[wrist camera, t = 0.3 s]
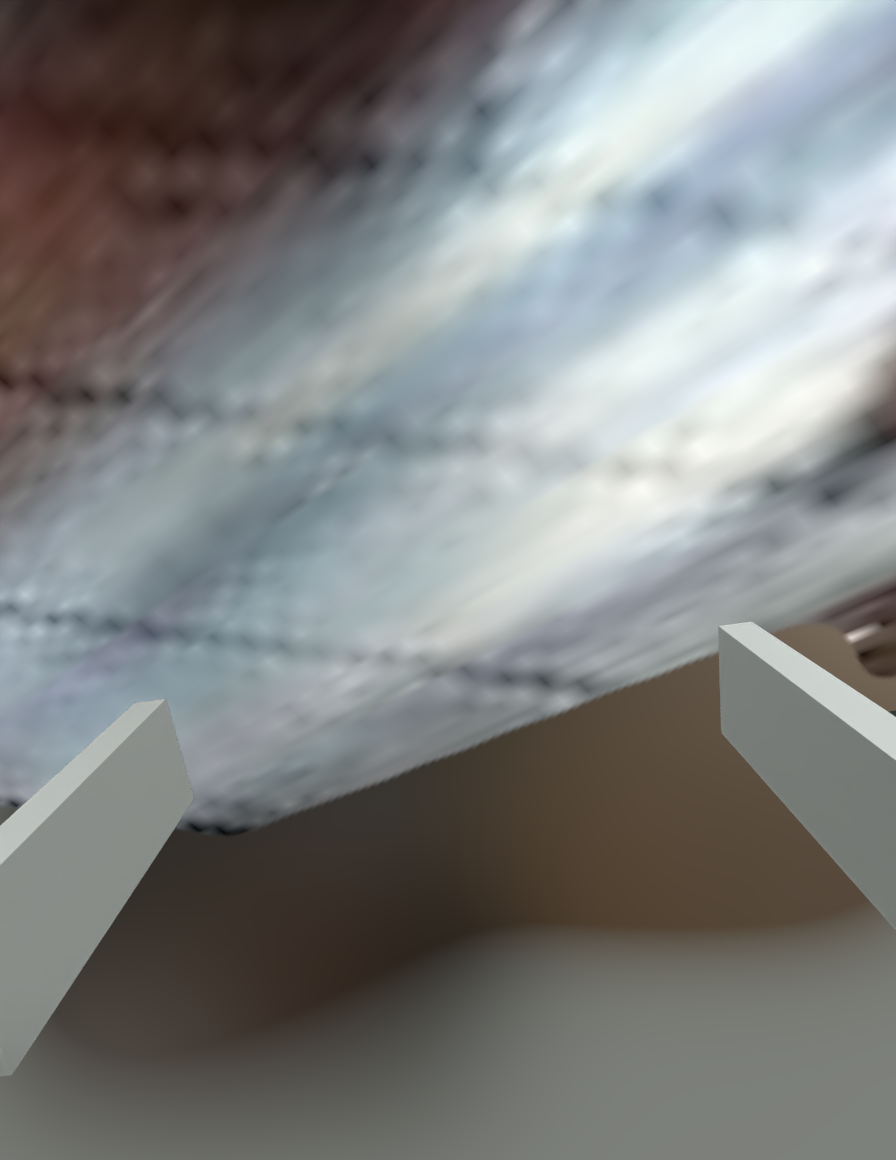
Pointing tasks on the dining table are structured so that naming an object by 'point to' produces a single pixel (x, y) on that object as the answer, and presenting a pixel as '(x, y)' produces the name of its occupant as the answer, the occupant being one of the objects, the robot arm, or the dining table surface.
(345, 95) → the dining table surface
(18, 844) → the robot arm
